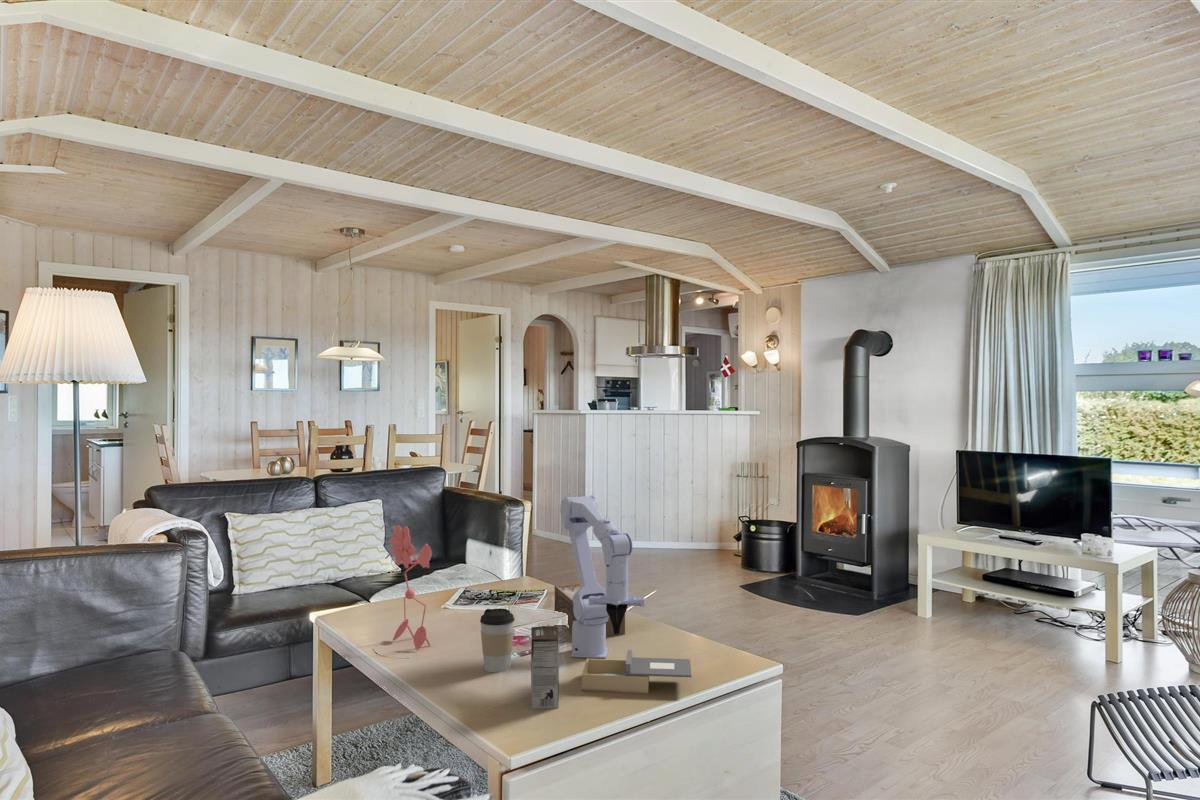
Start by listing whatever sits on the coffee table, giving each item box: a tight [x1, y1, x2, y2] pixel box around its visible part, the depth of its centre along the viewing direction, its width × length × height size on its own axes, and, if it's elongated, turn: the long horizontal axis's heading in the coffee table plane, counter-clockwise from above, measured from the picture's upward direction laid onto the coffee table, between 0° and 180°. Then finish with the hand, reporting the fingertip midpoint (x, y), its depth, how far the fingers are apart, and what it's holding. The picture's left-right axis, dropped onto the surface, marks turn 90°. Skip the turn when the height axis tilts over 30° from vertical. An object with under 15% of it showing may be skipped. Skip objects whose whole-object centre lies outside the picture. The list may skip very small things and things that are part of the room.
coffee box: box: [530, 626, 560, 710], centre depth 171 cm, size 9×6×16 cm
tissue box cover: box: [554, 583, 626, 638], centre depth 230 cm, size 26×14×10 cm, turn 20°
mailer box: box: [581, 658, 650, 694], centre depth 182 cm, size 16×11×4 cm
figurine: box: [384, 524, 432, 651], centre depth 208 cm, size 15×26×35 cm, turn 43°
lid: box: [625, 649, 692, 678], centre depth 181 cm, size 16×11×2 cm
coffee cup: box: [479, 608, 515, 673], centre depth 193 cm, size 9×9×15 cm
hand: (616, 633), depth 190 cm, fingers closed
